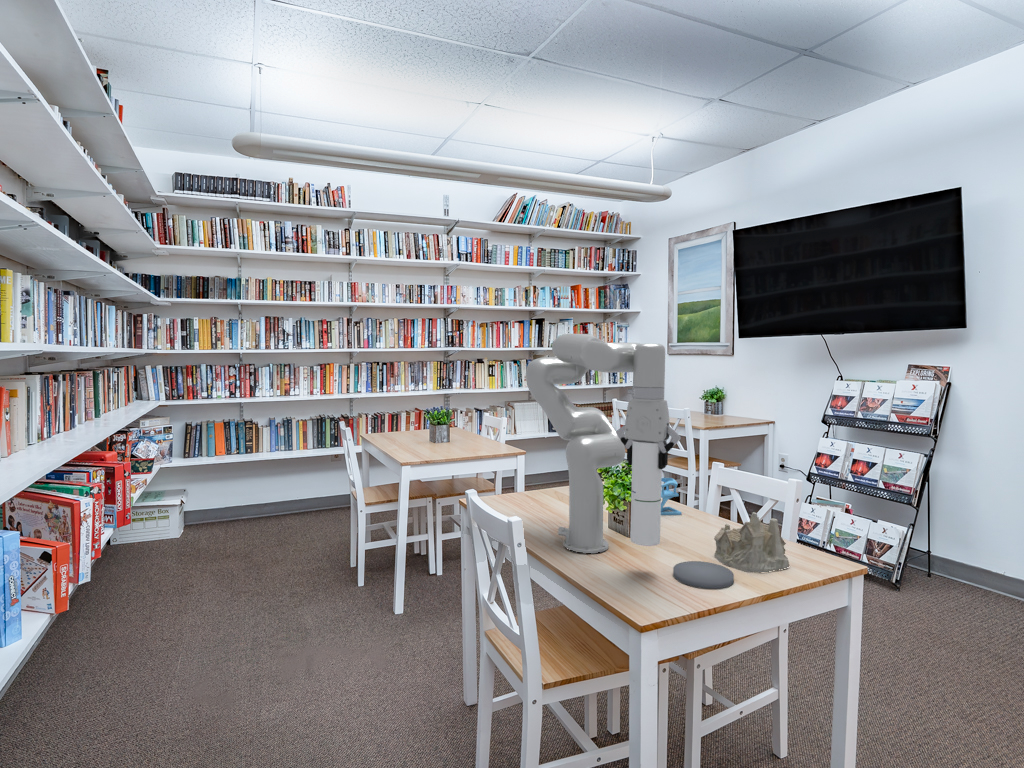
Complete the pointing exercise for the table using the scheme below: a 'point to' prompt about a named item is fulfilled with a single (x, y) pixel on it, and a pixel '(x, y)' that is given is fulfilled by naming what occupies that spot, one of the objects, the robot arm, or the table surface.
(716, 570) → the coaster
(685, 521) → the table surface
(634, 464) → the cylindrical container
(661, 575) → the table surface
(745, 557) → the ceramic cottage
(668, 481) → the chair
